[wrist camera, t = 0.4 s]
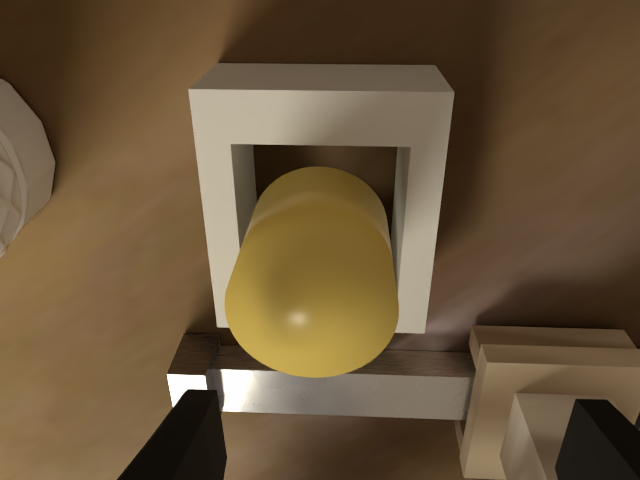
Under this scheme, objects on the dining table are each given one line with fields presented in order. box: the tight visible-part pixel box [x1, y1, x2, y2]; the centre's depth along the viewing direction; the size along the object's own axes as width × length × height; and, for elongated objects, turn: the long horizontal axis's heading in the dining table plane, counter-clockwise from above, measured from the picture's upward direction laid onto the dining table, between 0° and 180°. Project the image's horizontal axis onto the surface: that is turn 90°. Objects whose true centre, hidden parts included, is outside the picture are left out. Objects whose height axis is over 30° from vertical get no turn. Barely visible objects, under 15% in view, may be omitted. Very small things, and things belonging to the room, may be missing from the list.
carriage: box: [454, 325, 640, 480], centre depth 20 cm, size 6×6×7 cm
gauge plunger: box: [224, 166, 399, 378], centre depth 14 cm, size 4×4×4 cm
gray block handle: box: [167, 333, 640, 431], centre depth 22 cm, size 4×20×2 cm, turn 90°
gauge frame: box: [189, 63, 454, 334], centre depth 17 cm, size 8×7×4 cm
